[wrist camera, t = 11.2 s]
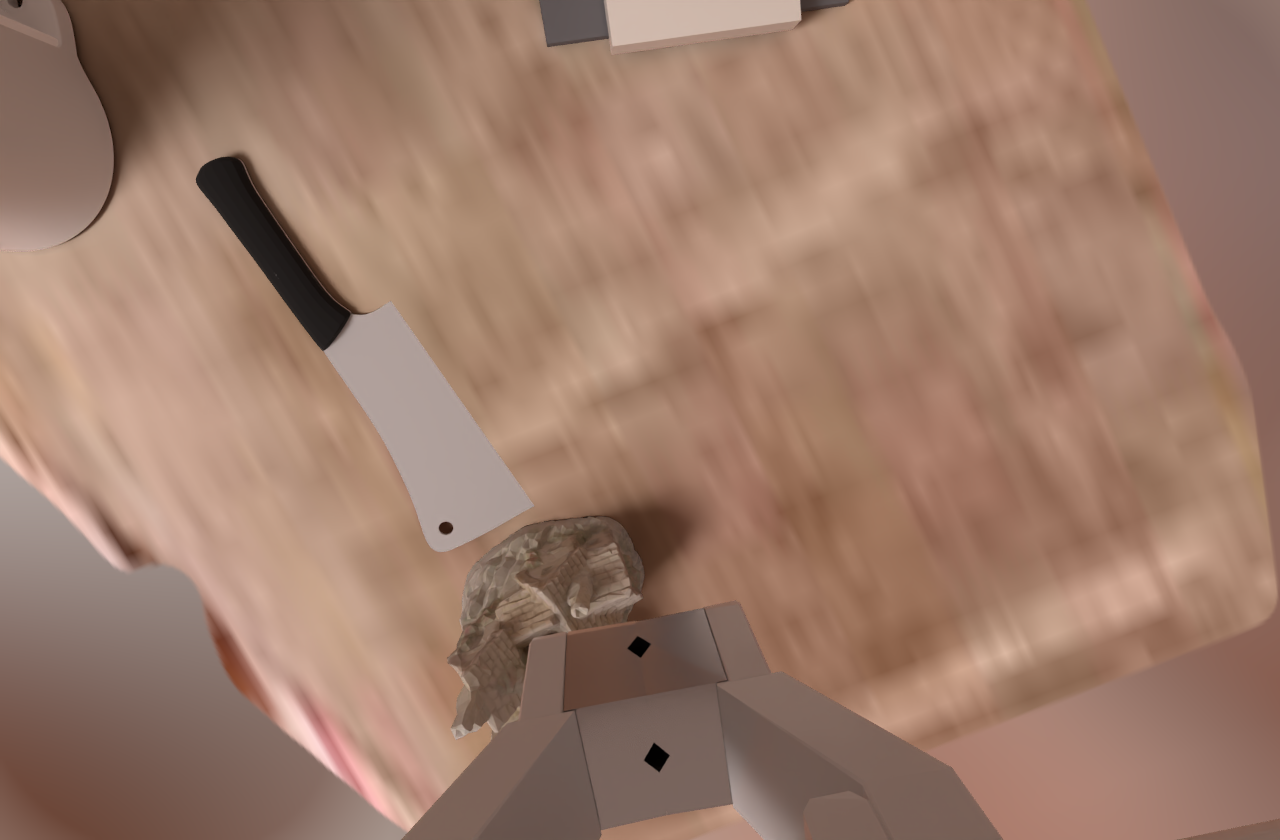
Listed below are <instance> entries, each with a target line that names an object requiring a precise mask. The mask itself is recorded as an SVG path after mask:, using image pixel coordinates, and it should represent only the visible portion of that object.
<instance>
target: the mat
mask: <svg viewBox="0 0 1280 840" xmlns="http://www.w3.org/2000/svg"><path fill="white" fill-rule="evenodd" d="M539 1H540V7H541V13H542V19H543V24H544V30H545V36H546V42H547V47H551V46H558V45H566V44H573V43H580V42H587V41H594V40H602V39H609V34H608V27H607V20H606V13H605V6H604V0H539ZM848 2H849V0H800V7H801V12H802V11H810V10H817V9H824V8H831V7H838V6H845V5H846V4H847V3H848Z"/></svg>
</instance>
